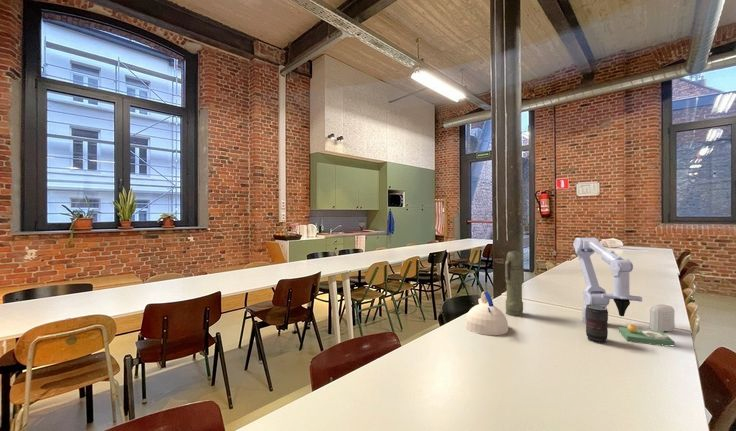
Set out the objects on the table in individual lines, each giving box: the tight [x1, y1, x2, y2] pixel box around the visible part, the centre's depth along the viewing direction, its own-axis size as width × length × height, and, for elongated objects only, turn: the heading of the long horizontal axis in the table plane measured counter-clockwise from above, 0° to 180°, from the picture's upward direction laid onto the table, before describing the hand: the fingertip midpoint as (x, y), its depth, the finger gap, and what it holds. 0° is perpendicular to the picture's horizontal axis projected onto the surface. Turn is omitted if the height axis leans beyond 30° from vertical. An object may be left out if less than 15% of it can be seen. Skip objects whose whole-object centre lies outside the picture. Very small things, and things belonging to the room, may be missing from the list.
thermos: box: [504, 250, 524, 317], centre depth 181 cm, size 9×12×35 cm
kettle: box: [464, 291, 509, 336], centre depth 161 cm, size 20×21×18 cm
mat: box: [618, 326, 676, 346], centre depth 144 cm, size 16×12×2 cm
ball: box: [626, 324, 639, 333], centre depth 146 cm, size 4×4×4 cm
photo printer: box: [649, 304, 675, 333], centre depth 154 cm, size 10×4×12 cm, turn 98°
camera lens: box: [585, 304, 609, 344], centre depth 143 cm, size 8×8×15 cm
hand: (621, 315), depth 148 cm, fingers closed
